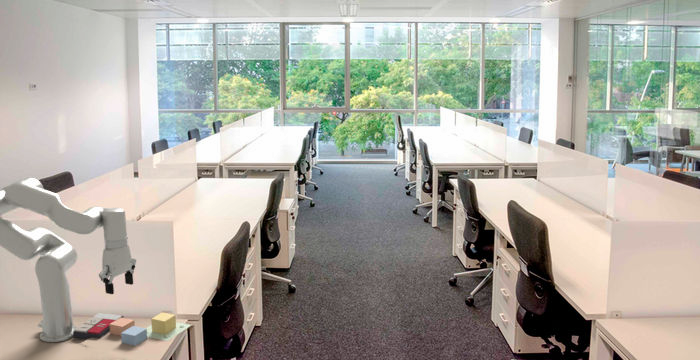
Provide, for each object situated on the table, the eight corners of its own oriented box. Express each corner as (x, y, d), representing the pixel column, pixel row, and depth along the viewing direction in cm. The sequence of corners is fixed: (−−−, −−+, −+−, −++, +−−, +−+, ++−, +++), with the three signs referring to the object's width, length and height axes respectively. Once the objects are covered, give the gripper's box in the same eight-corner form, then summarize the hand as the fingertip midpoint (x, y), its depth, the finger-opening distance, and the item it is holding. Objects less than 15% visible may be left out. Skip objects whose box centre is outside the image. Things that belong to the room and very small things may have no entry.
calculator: (72, 329, 215) (98, 311, 229) (73, 340, 216) (99, 321, 230) (99, 333, 213) (123, 313, 227) (100, 344, 214) (125, 324, 228)
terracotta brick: (110, 336, 217) (109, 324, 216) (122, 330, 223) (121, 317, 222) (123, 339, 215) (122, 326, 214) (135, 332, 221) (134, 320, 220)
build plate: (135, 337, 217) (135, 333, 217) (161, 321, 230) (161, 318, 229) (167, 344, 212) (167, 340, 211) (191, 328, 224) (191, 324, 224)
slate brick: (122, 346, 210) (121, 332, 209) (133, 338, 216) (133, 325, 215) (135, 349, 208) (134, 335, 207) (147, 341, 214) (146, 328, 213)
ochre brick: (152, 331, 219) (151, 318, 218) (162, 324, 224) (162, 312, 223) (165, 334, 217) (164, 321, 216) (176, 327, 222) (175, 315, 221)
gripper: (125, 235, 221) (128, 279, 225) (89, 248, 206) (93, 295, 209) (141, 237, 219) (144, 282, 222) (106, 251, 203) (110, 299, 206)
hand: (119, 288), depth 215 cm, fingers open, 9 cm apart
